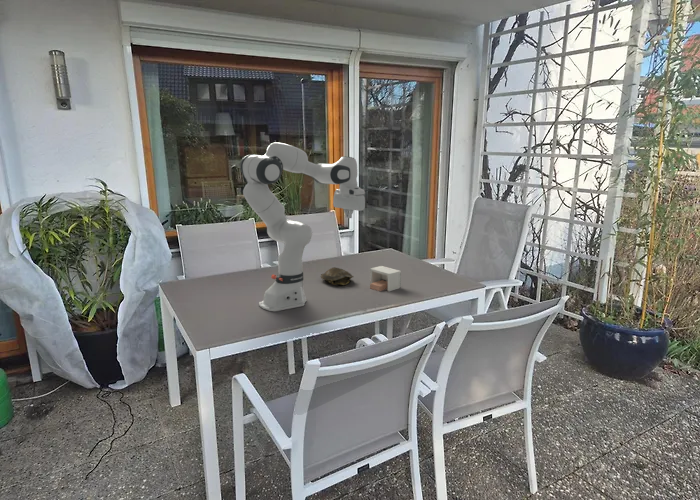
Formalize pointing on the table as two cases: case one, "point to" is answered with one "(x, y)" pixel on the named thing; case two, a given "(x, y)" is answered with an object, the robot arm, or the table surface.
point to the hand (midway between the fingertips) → (348, 217)
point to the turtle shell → (337, 276)
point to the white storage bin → (386, 276)
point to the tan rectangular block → (379, 285)
